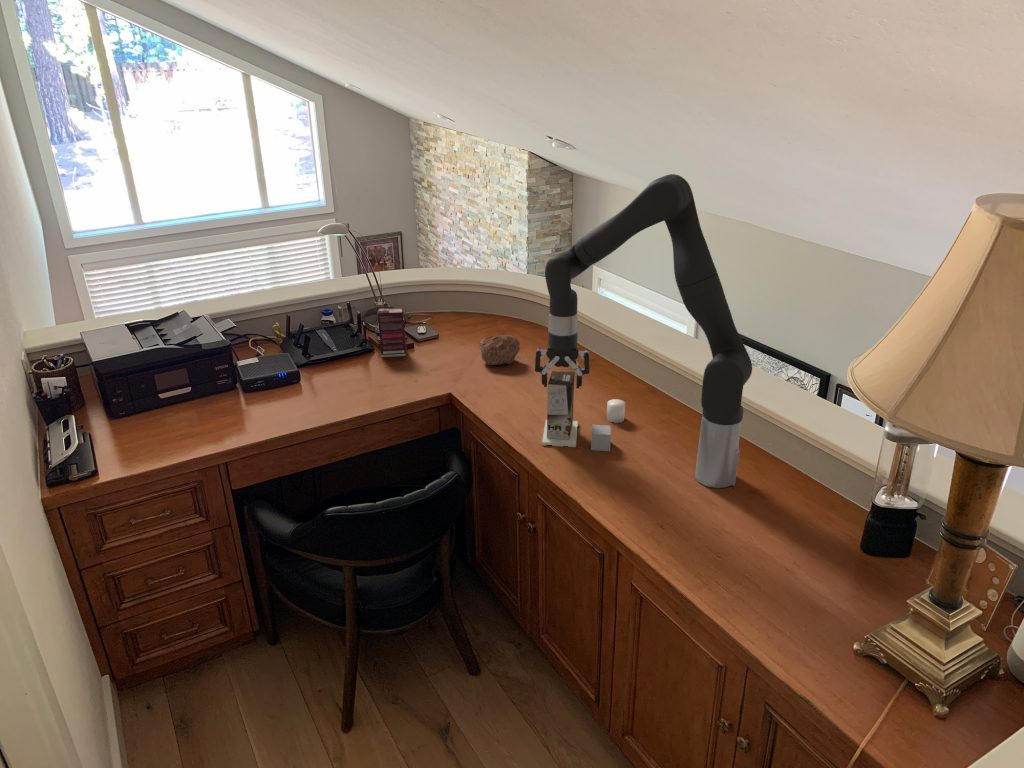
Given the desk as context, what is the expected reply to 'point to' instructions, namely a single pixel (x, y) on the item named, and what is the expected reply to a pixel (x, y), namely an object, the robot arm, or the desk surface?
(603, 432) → the grey block
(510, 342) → the decorative rock
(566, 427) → the coffee box
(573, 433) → the sage board
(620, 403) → the white rounded cylinder
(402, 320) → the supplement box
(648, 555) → the desk surface
